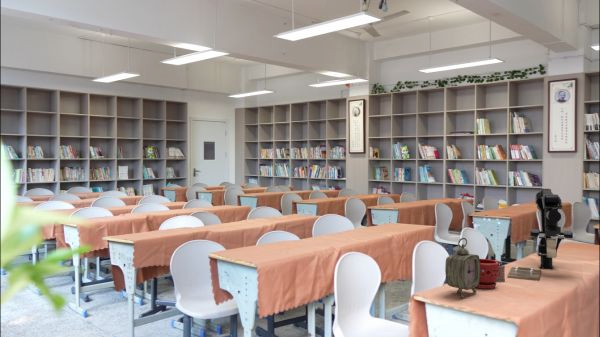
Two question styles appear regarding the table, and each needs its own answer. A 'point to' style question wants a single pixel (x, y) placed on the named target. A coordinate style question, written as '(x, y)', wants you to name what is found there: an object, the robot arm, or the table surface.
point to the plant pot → (488, 273)
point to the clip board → (524, 273)
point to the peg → (551, 248)
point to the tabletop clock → (463, 270)
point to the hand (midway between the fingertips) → (551, 250)
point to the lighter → (500, 272)
